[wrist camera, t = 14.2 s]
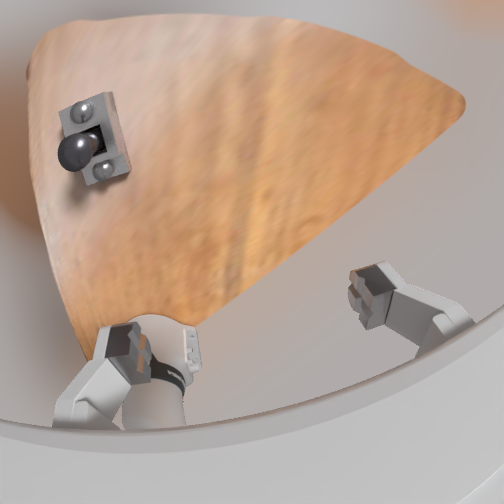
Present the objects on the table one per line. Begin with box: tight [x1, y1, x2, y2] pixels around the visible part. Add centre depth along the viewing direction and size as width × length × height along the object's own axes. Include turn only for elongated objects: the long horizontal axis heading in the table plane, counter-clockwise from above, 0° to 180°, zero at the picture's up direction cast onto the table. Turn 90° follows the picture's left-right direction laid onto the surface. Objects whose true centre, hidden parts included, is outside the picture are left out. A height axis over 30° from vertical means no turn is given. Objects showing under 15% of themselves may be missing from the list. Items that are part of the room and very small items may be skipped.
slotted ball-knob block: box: [59, 92, 131, 186], centre depth 31 cm, size 12×7×5 cm, turn 8°
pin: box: [58, 128, 105, 172], centre depth 29 cm, size 4×4×10 cm
